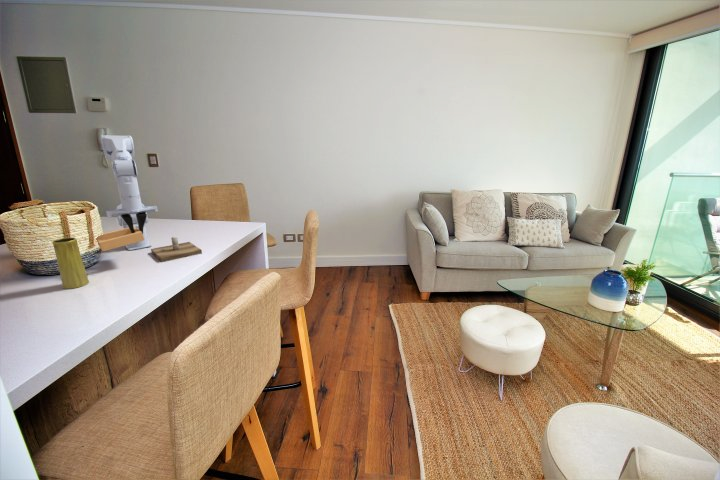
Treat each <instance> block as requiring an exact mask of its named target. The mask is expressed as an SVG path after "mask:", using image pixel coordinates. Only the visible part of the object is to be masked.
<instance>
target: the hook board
mask: <svg viewBox="0 0 720 480" xmlns="http://www.w3.org/2000/svg"><path fill="white" fill-rule="evenodd" d="M170 239H171V245H165V246H159V247H154V248H151V249H150V252H151V254H153V255H154V257H155V258H157V259H158V260H159V261H160V262H161V263H163V262H169V261H173V260H178V259H182V258H187V257H191V256H195V255H196V256H197V255H200V254H201V255H202V254H203V252H202V249H201V248H200V247H198V246H196V245H195V244H194V243H192V242H190V241H186V242H181V243H179V239H178V237H174V236H172V237H171V238H170Z"/></svg>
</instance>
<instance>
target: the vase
mask: <svg viewBox="0 0 720 480" xmlns="http://www.w3.org/2000/svg"><path fill="white" fill-rule="evenodd" d="M52 245H53V250H54V255H55V257H56V261H57V267H58V270H59V275H60V278H61V280H60V281H61V284H62V288H64V289H67V290H71V289H78V288H81V287H84V286H86V285H88V284H89V283H90V279H89V278H88V275H87V271H86V268H85V264H84V261H83V258H82V255H81V252H80V249H79V248H80V247H79V243H78V240H77V238H76V237H63V238H57V239H54V240H52Z"/></svg>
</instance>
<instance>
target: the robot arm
mask: <svg viewBox="0 0 720 480" xmlns="http://www.w3.org/2000/svg"><path fill="white" fill-rule="evenodd" d="M100 142H101V146H102V151H103V153H104V156H105V158H106V159H108V160H110V161H111V167H112V168H111V169H112V172H113V173H112V174H113V176H114V179H115V182H116V185H117V190H118V194H119V200H120V204H118V205H117V206H116V208H115V209H113V210H106V211H105V212H106V217H107V218H113V217H117V222H118V226H119V227H122V229H125V228H129V229H130V231H131V233H135V231H134V227H133V226H135V227H136V228H137V229H138V230H140V231H141V232H142V234H143V237H144V241H140V242H136V243H132V244H129V245H125V246H124V247H125V248H126V249H127V250H128V251H133V250H139V249H145V248H151V247H152V244H151V243H150V242H149V239H148V235H147V234H148V233H147V229H146V224H148V223H149V218H148V213H157V212H159V210H158V206H157V205H149V206H148V205H147V206H146V205H144V203H142V198H141V193H140V188H139V183H138V178H137V177H138V169H137V165H136V161H135V155H136V154H135V146H134V139H133V137H132V136H131V135H130V134H129V135H107V134H106V135H105V134H101V135H100Z"/></svg>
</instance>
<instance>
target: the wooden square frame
mask: <svg viewBox="0 0 720 480" xmlns="http://www.w3.org/2000/svg"><path fill="white" fill-rule="evenodd" d="M133 227H134V231H135V233H131V231H130V229H129V228H125V229H124V228H121V229H116V230H113V231H109V232H104V233H101V235H100V236H98V237H97V238H96V239H95V241H96V240H97V241H96V243H97V242H98V244H97V245H98V246H99V248H100V249H101V251H102V252H105V251H109V250H113V249H116V248H117V249H118V248H121V247H125V245H129V244H132V243H136V242H140V241H144V237H143V234H142V232H141V231H140V230H138V229H137V228H136V227H135V226H133ZM102 234H103V235H102Z"/></svg>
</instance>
